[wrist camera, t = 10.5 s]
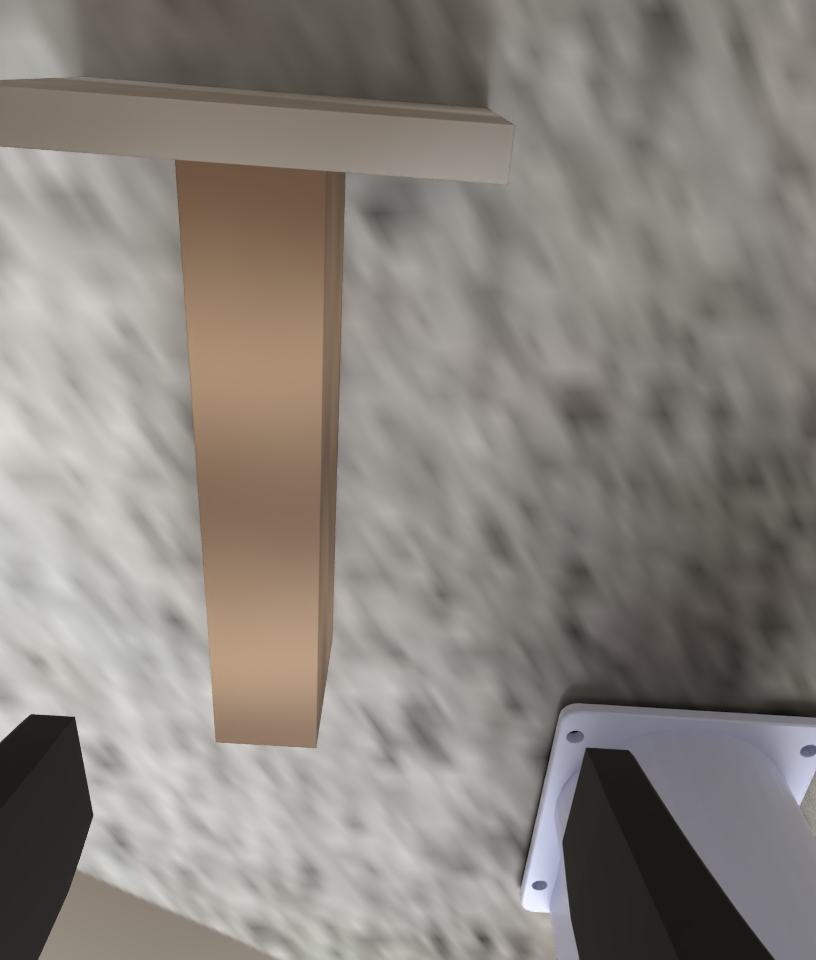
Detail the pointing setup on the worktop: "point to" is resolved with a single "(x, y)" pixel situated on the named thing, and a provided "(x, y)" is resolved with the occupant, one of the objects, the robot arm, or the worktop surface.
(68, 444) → the worktop surface
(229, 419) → the scraper
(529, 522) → the worktop surface
